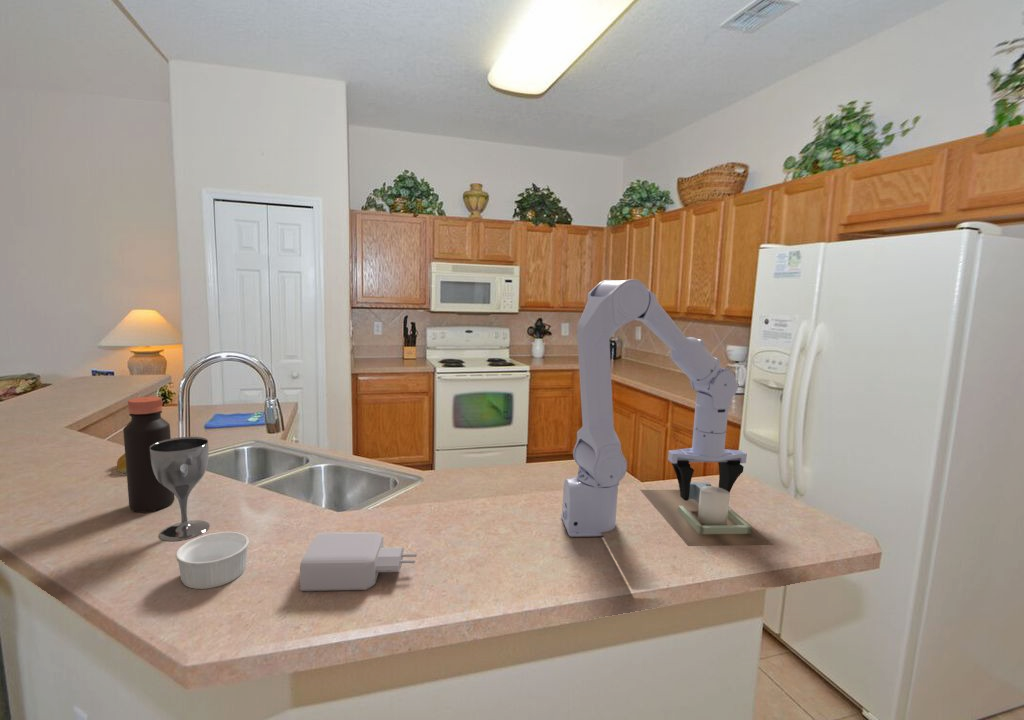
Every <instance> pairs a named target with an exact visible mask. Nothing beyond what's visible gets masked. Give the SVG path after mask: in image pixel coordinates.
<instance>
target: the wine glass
mask: <svg viewBox="0 0 1024 720" xmlns="http://www.w3.org/2000/svg"><path fill="white" fill-rule="evenodd" d="M150 460H151V465H152V469H153V472H154V475H155V477H156V479H157V481H158V482H159V483H160V484H161V485H162V486H164V487H165V488H167V489H168V490H170V491H171V492H172V493H173V494H174V497H176V499H177V502H178V504H179V509H180V518H181V522H178V523H175V524H174V523H173V524H172V525H169V526H166V527H165V528H164V529H163V530H161V531H160V532H159V534H158V537H159V539H160V540H162V541H165V542H180V541H186V540H191V539H194V538H197V537H200V536H202V535H203V534H204V533H205V532H207V531H208V530H209V529H210V527H211V525H210V523H209V522H208V521H206V520H199V519H198V520H197V519H193V520H188V515H187V514H188V512H187V511H188V510H187V509H188V507H187V506H188V501H189V496H190V494H191V492H192V491H193V489H194V488H195V487H196V486H197V484H198V483H199V482H201V480H202V479H203V477H204V476H205V474H206V471H207V467H208V465H209V464H208V462H209V440H208V438H206V437H201V436H181V437H174V438H171V439H167V440H163V441H160V442H157V443H154V444H153V445H151V446H150Z"/></svg>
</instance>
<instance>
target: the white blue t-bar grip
mask: <svg viewBox="0 0 1024 720" xmlns="http://www.w3.org/2000/svg"><path fill="white" fill-rule="evenodd" d="M730 495H731V493H729V492H728V491H726V490H724V489H722V488H719V486H718V487H717V486H712V484H711V483H710V482H709V481H708V482H707V481H706V482H705V481H704V482H702V481H700V482H699V481H698V482H695V481H694V482H692V481H691V483H690V494H689V499H694V500H695V501H696V502H697V503H698V504H699V507H698V518H697V521H698V522H699V523H700V524H701V525H703V526H716V525H727V517H728V507H730V497H731V496H730Z"/></svg>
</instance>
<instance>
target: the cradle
mask: <svg viewBox="0 0 1024 720" xmlns="http://www.w3.org/2000/svg"><path fill="white" fill-rule="evenodd" d="M729 507H730V506H729ZM729 507H728V517H729V518H730V519H731V520H732V521H733V522H734V523H735V524H737V525H716V526H702V525H701V524H700V523H699V522H698V521H697V520H696V519H695V518H694V517H693V516H692V515H691V514H690V513H689V512H688V511H687V510H686V509H685V508H684V507H683V506H678V512H679V514H680V515H681V516H682V517H683V518H684V519H685V520H686V521H687V522H688V523H689V524H690V525H691V526H692V527H693V528H694V529H695V531H696V532H697V533H698V534H752V527H753V526H752V525H751V524H750V523H749V522H748V521H746V520H745V519H744V518H743V517H741V516H740V515H739V514H738V513H737V512H735V511H734V510H733V509H732V508H731V507H730V508H731V509H732V510H733V511H734V512H733V511H732V510H731V509H730V508H729ZM736 513H737V514H738V515H739V516H740V517H739V516H738V515H737V514H736ZM742 518H743V519H744V520H745V521H746V522H745V521H744V520H743V519H742ZM748 523H749V524H750V525H751V526H752V527H751V526H750V525H749V524H748Z"/></svg>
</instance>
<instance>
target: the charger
mask: <svg viewBox="0 0 1024 720" xmlns="http://www.w3.org/2000/svg"><path fill="white" fill-rule="evenodd" d="M404 551H405V550H404V547H384V536H383V535H382V534H381V533H380V532H379V531H376V532H375V531H366V532H364V531H363V532H362V531H360V532H359V531H357V532H352V531H349V532H348V531H347V532H345V531H344V532H339V531H338V532H337V531H336V532H318V533H317V534H316V535H315V537H314V538H313V540H312V541H311V543H310V545H309V547H308V548H307V549H306V551H305V553H304V554H303V556H302V559H301V561H300V563H299V564H300V565H299V583H300V584H299V586H300V589H299V590H300V591H301V592H313V591H317V592H319V591H320V592H321V591H325V592H326V591H327V592H328V591H366V590H369V589H370V588H371V587H373V586H374V585H375V584H376V583H377V578H378V575H379V573H399V572H400V571H401V568H402V564H415V563H416V560H415V559H404V558H413V557H414V558H416V557H417V553H404Z"/></svg>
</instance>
